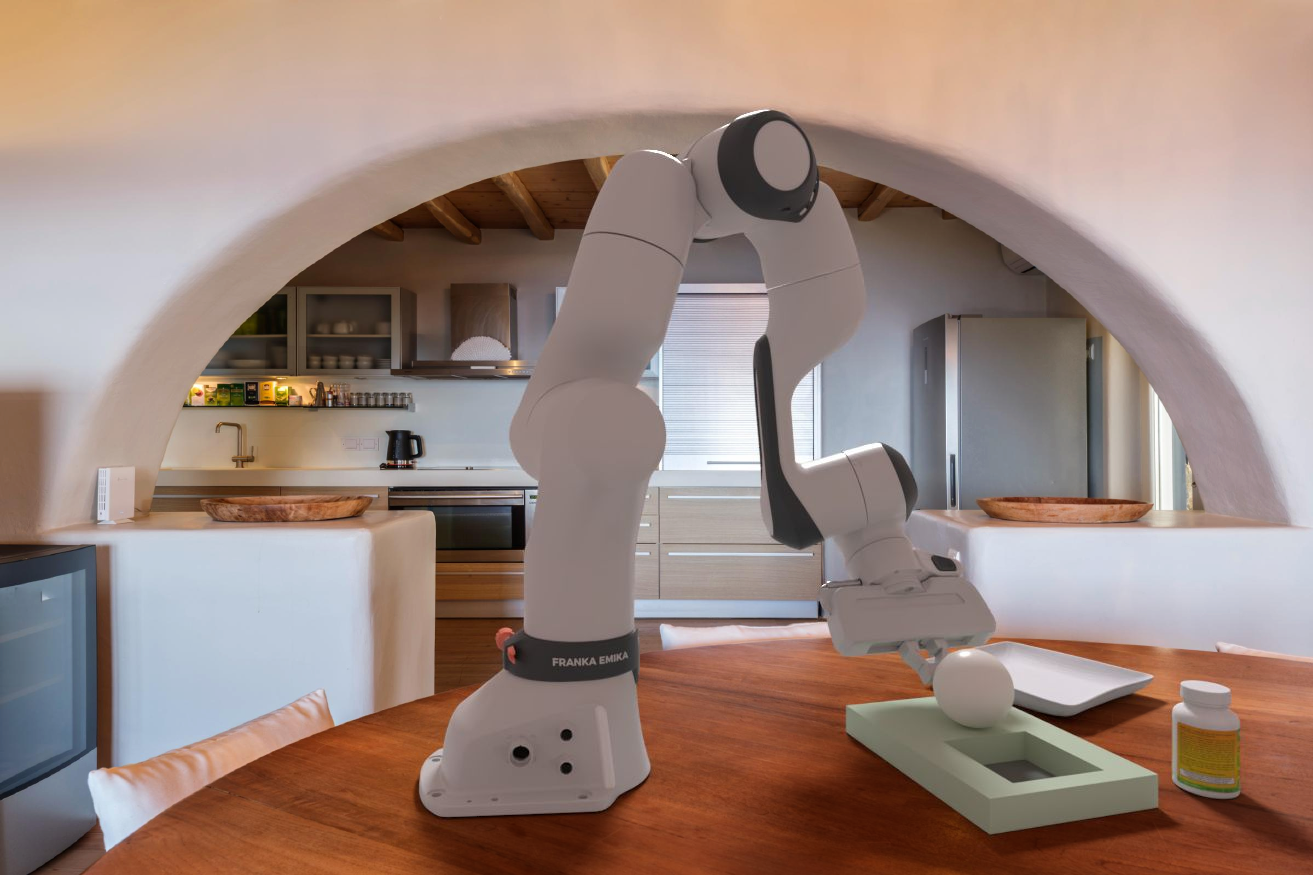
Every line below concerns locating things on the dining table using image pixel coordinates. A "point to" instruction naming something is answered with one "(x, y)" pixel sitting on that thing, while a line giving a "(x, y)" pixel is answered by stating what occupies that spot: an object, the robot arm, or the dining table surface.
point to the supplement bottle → (1206, 741)
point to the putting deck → (1002, 765)
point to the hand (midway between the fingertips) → (938, 681)
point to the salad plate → (1061, 679)
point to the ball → (973, 688)
